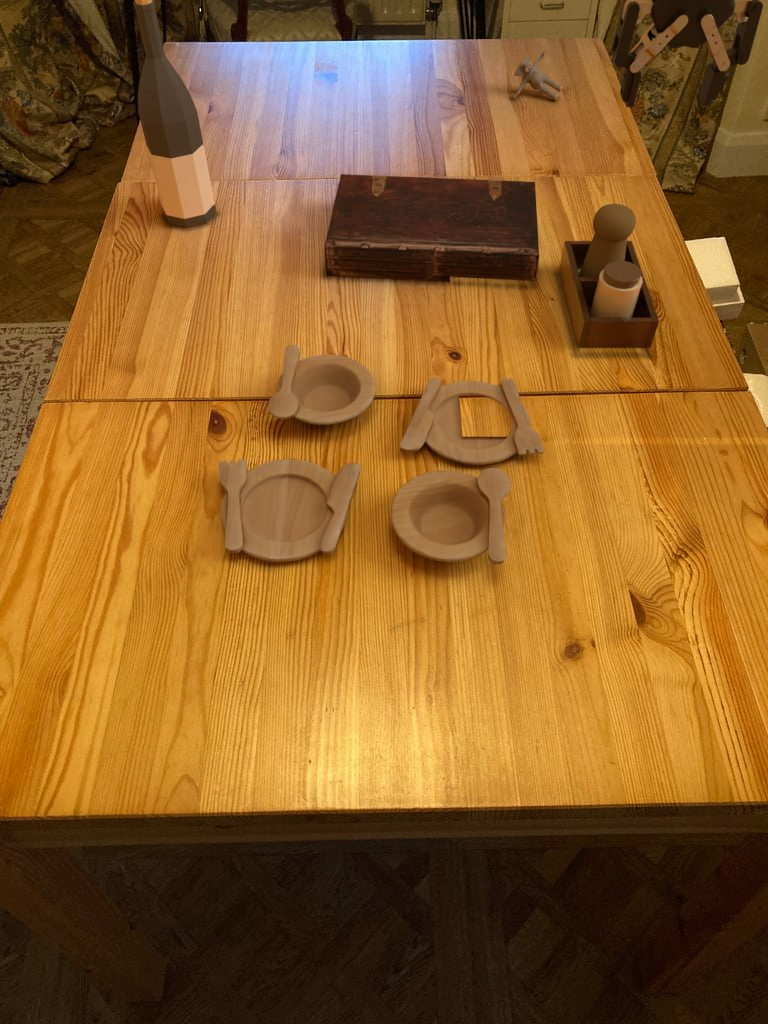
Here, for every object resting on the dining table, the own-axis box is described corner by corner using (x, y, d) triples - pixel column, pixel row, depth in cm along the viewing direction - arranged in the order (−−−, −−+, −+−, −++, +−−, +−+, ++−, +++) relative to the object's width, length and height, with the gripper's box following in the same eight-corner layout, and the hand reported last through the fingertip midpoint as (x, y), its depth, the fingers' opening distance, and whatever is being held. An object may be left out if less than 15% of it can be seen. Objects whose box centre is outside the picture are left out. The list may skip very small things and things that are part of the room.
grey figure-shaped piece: (544, 112, 138) (503, 84, 138) (541, 125, 144) (501, 97, 144) (578, 62, 137) (536, 33, 137) (573, 77, 143) (533, 49, 143)
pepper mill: (629, 292, 103) (651, 217, 94) (590, 302, 102) (609, 227, 93) (605, 268, 107) (624, 193, 98) (567, 277, 105) (583, 202, 97)
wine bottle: (159, 228, 115) (101, 0, 92) (167, 200, 120) (113, -23, 97) (213, 227, 115) (169, -1, 92) (219, 199, 120) (178, -24, 97)
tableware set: (192, 557, 78) (184, 533, 75) (260, 366, 96) (255, 340, 93) (540, 596, 75) (546, 572, 72) (542, 391, 93) (548, 366, 90)
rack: (622, 272, 108) (631, 240, 104) (648, 353, 97) (659, 321, 93) (558, 272, 108) (564, 240, 104) (576, 353, 97) (584, 321, 93)
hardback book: (326, 276, 108) (323, 244, 104) (342, 205, 119) (340, 174, 115) (534, 286, 106) (539, 254, 102) (530, 213, 118) (535, 181, 114)
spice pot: (624, 312, 101) (640, 258, 95) (632, 337, 98) (648, 283, 91) (584, 312, 101) (597, 258, 95) (591, 337, 98) (605, 283, 91)
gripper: (646, -57, 72) (609, 120, 84) (799, -60, 71) (739, 118, 84) (630, -82, 76) (597, 90, 89) (774, -85, 76) (720, 88, 89)
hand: (666, 103), depth 86 cm, fingers open, 8 cm apart
